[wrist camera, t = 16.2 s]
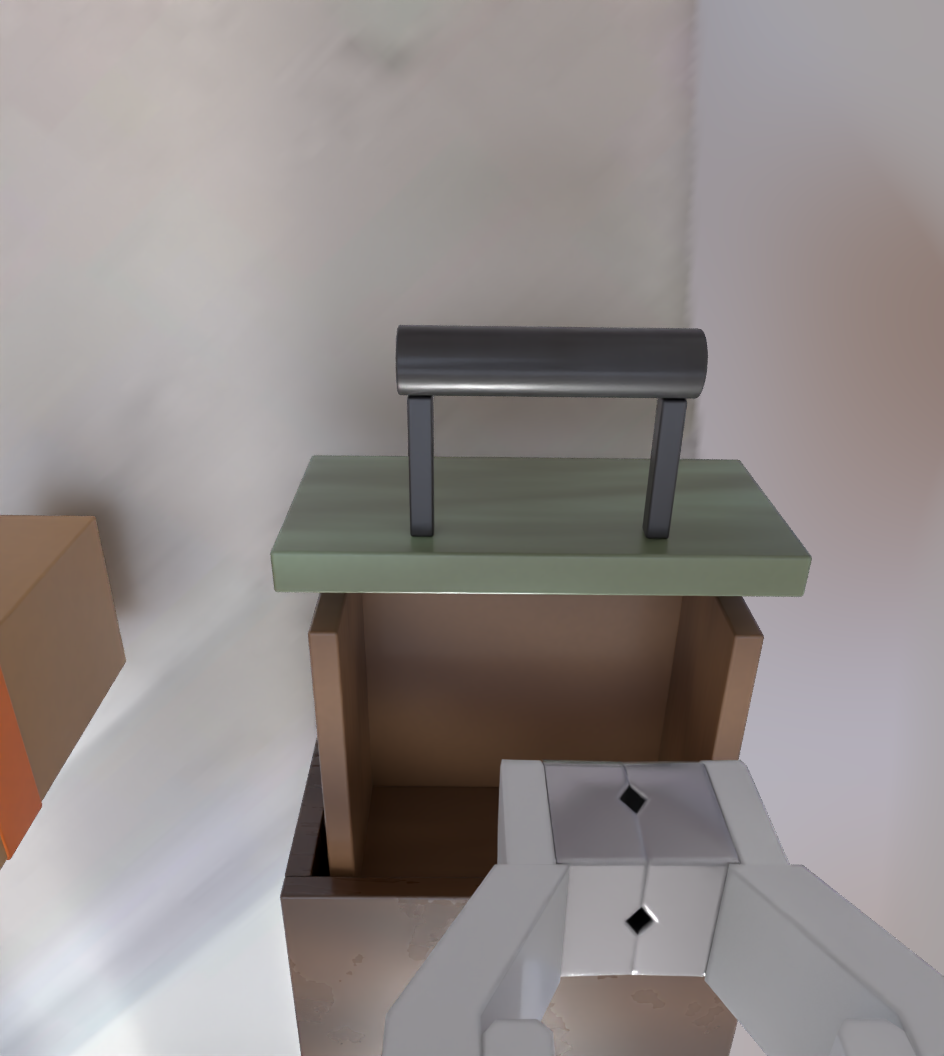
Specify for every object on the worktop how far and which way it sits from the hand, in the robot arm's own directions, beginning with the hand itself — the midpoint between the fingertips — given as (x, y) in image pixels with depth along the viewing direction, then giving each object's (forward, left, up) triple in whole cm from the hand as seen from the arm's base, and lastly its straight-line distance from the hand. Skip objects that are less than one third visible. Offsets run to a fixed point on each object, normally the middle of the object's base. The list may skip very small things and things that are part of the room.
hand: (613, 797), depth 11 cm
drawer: (+6, 0, -17) cm, 18 cm away
